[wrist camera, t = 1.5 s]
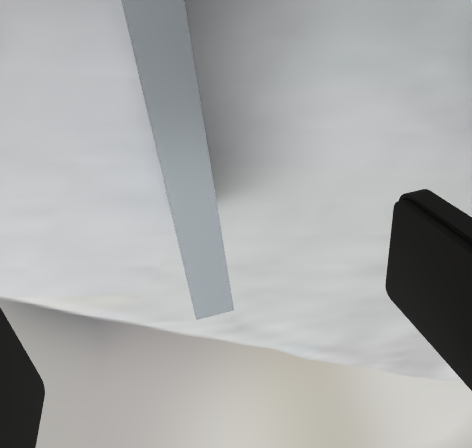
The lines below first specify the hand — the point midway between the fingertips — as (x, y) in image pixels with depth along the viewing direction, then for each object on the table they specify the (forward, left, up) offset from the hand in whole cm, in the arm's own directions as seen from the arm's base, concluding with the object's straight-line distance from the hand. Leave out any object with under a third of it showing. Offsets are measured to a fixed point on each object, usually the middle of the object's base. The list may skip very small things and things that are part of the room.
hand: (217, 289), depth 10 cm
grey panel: (0, 0, -19) cm, 19 cm away
